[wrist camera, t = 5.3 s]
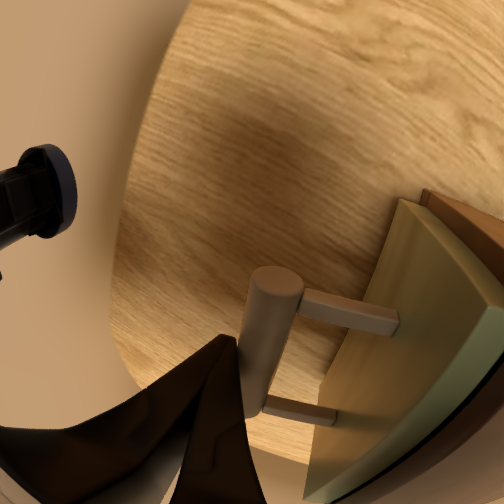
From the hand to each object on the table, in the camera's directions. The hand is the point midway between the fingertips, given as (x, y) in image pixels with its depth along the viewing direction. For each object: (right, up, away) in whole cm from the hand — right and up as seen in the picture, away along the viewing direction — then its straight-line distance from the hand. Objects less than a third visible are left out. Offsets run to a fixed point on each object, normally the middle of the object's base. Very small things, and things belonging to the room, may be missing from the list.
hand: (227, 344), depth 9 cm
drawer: (+9, -1, +2) cm, 9 cm away
